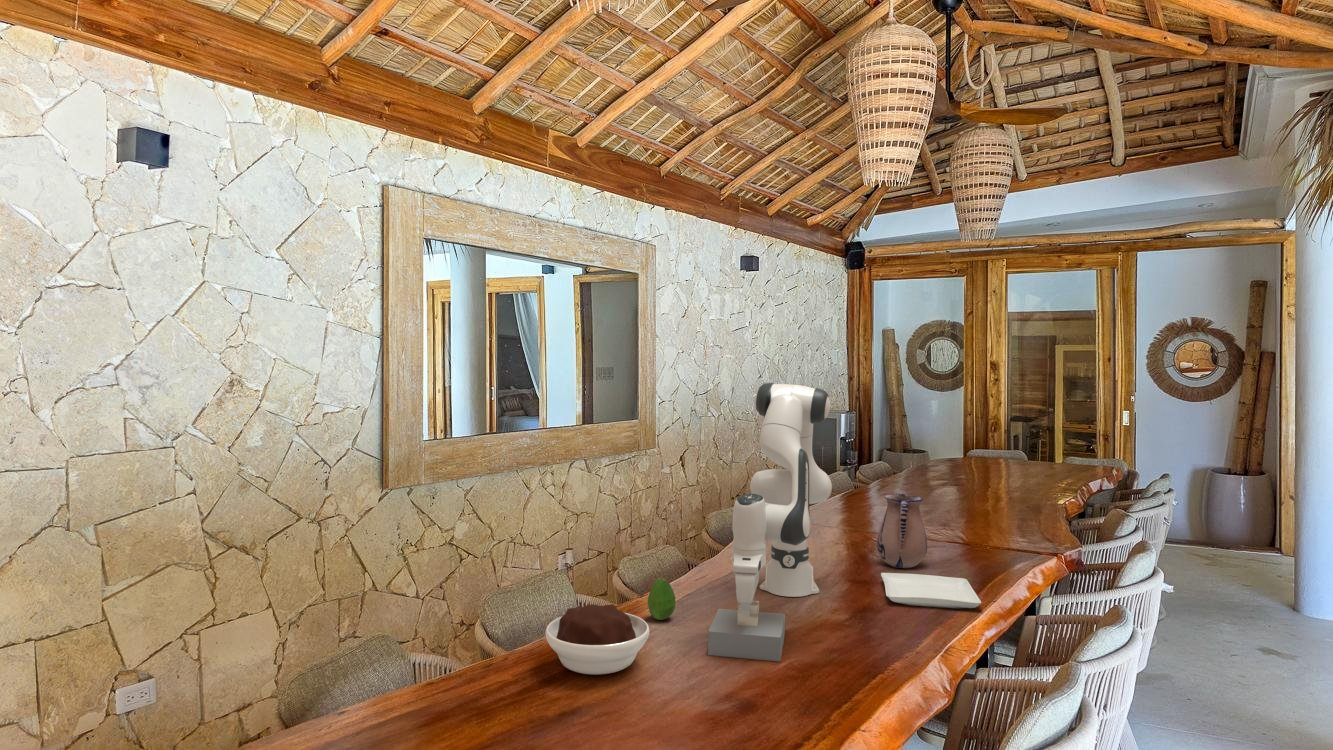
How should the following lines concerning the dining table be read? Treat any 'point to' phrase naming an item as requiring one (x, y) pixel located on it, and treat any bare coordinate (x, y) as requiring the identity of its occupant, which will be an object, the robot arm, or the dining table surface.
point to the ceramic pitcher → (902, 532)
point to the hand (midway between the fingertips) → (748, 610)
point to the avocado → (661, 599)
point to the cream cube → (753, 617)
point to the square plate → (930, 590)
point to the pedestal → (747, 636)
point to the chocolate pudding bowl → (597, 638)
